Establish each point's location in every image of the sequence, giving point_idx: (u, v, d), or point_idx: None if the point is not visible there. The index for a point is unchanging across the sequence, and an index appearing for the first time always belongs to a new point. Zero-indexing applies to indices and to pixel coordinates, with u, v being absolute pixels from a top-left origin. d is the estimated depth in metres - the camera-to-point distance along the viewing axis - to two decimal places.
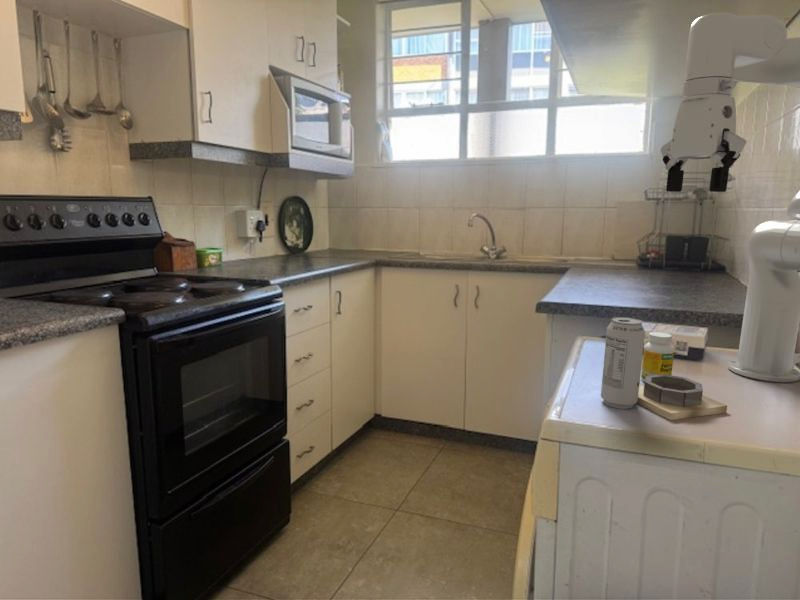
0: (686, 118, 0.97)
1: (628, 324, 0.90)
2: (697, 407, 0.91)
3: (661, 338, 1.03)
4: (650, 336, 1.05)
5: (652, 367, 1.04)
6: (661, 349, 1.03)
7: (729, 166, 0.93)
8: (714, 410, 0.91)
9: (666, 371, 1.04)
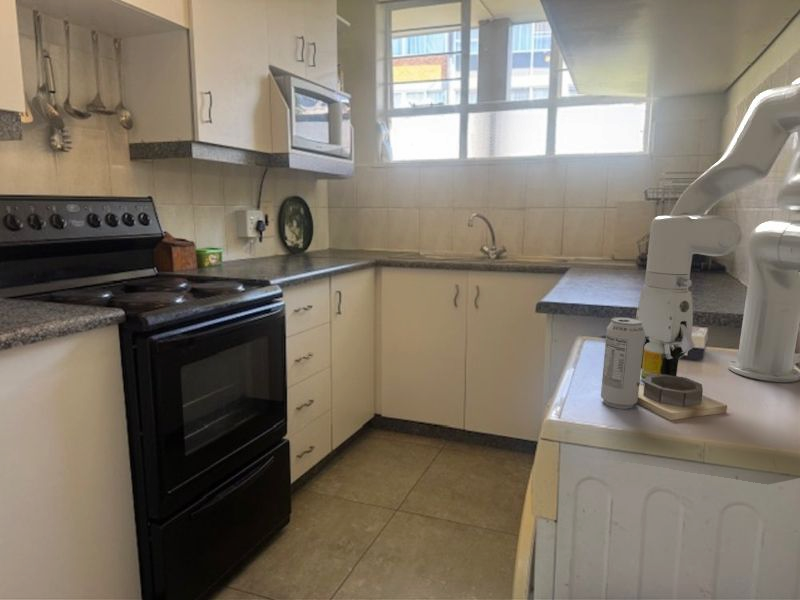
0: (648, 303, 1.04)
1: (628, 324, 0.90)
2: (697, 407, 0.91)
3: None
4: None
5: (652, 366, 1.04)
6: (661, 349, 1.03)
7: (677, 358, 1.02)
8: (714, 410, 0.91)
9: None
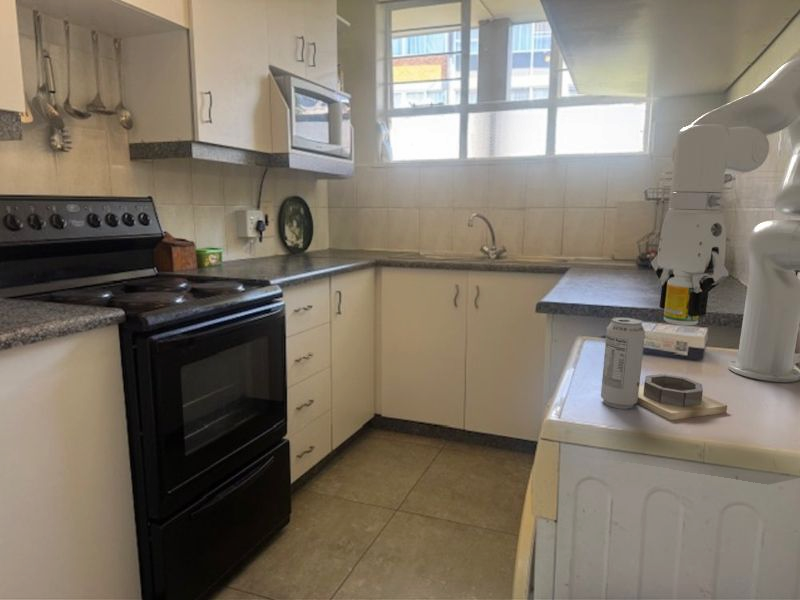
0: (673, 229, 0.91)
1: (628, 324, 0.90)
2: (697, 407, 0.91)
3: None
4: (675, 268, 0.91)
5: (677, 303, 0.90)
6: (687, 282, 0.89)
7: (707, 292, 0.88)
8: (714, 410, 0.91)
9: None
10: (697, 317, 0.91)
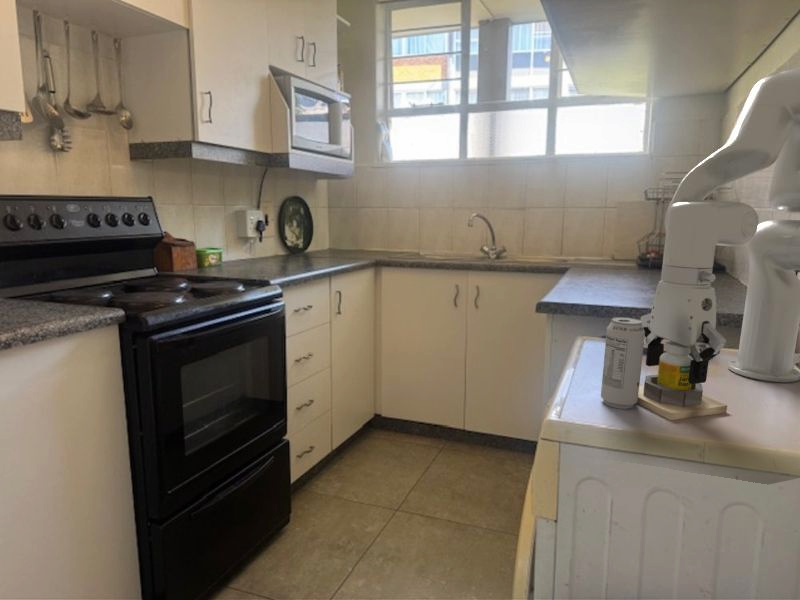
0: (665, 300, 0.93)
1: (628, 324, 0.90)
2: (697, 407, 0.91)
3: (679, 348, 0.92)
4: (666, 346, 0.94)
5: (669, 380, 0.93)
6: (679, 361, 0.92)
7: (708, 360, 0.89)
8: (714, 410, 0.91)
9: (685, 385, 0.93)
10: None
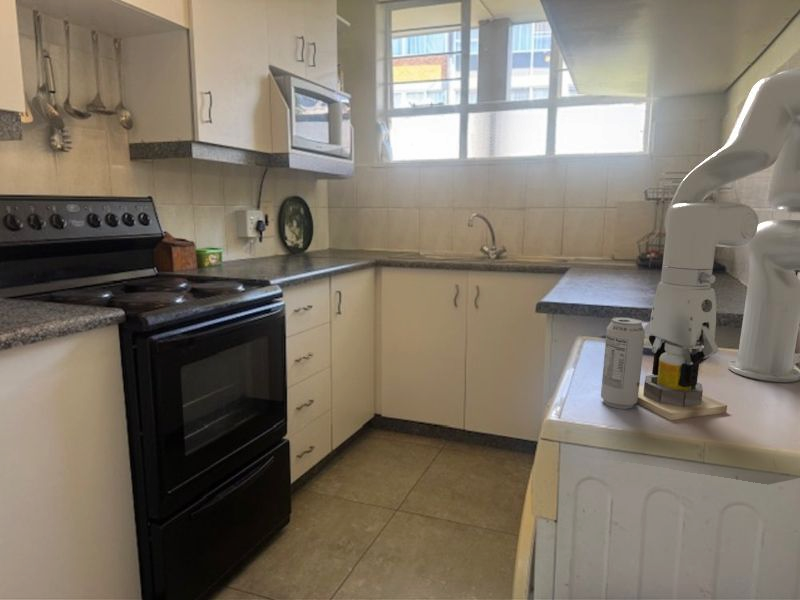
0: (665, 301, 0.93)
1: (628, 324, 0.90)
2: (697, 407, 0.91)
3: (679, 348, 0.92)
4: (666, 346, 0.94)
5: (668, 380, 0.93)
6: (678, 361, 0.92)
7: (698, 364, 0.91)
8: (714, 410, 0.91)
9: None
10: None
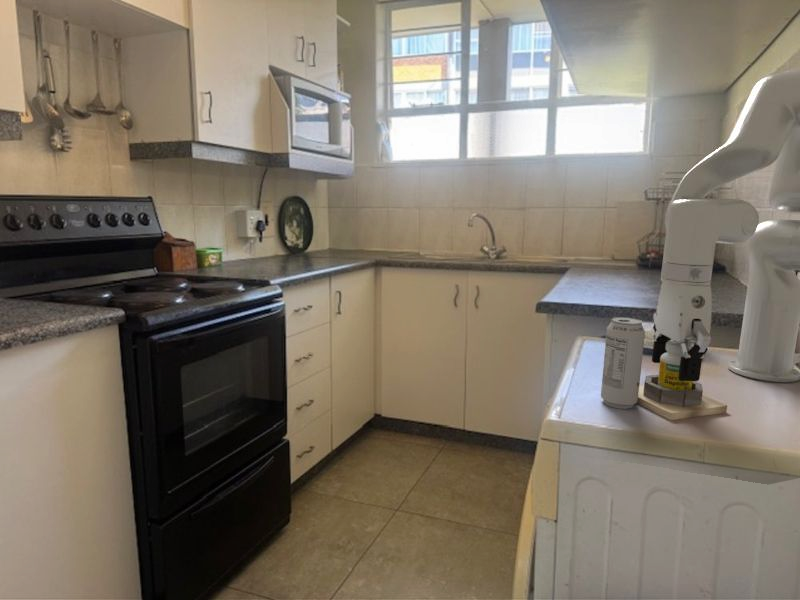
0: (664, 297, 0.94)
1: (628, 324, 0.90)
2: (697, 407, 0.91)
3: (669, 346, 0.93)
4: None
5: (659, 376, 0.95)
6: (666, 358, 0.93)
7: (699, 358, 0.88)
8: (714, 410, 0.91)
9: (671, 384, 0.93)
10: None
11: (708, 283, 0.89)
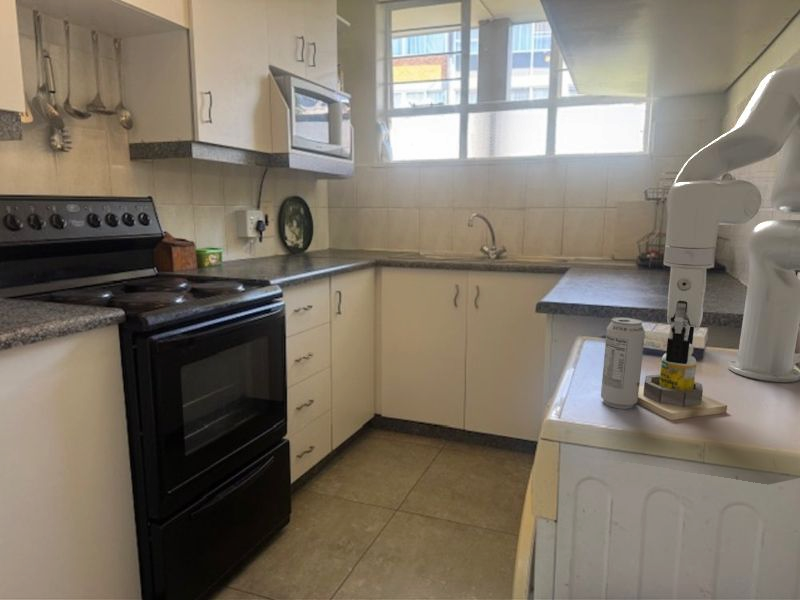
0: None
1: (628, 324, 0.90)
2: (697, 407, 0.91)
3: None
4: None
5: None
6: (663, 355, 0.95)
7: (682, 340, 0.88)
8: (714, 410, 0.91)
9: (661, 380, 0.95)
10: None
11: (702, 266, 0.88)
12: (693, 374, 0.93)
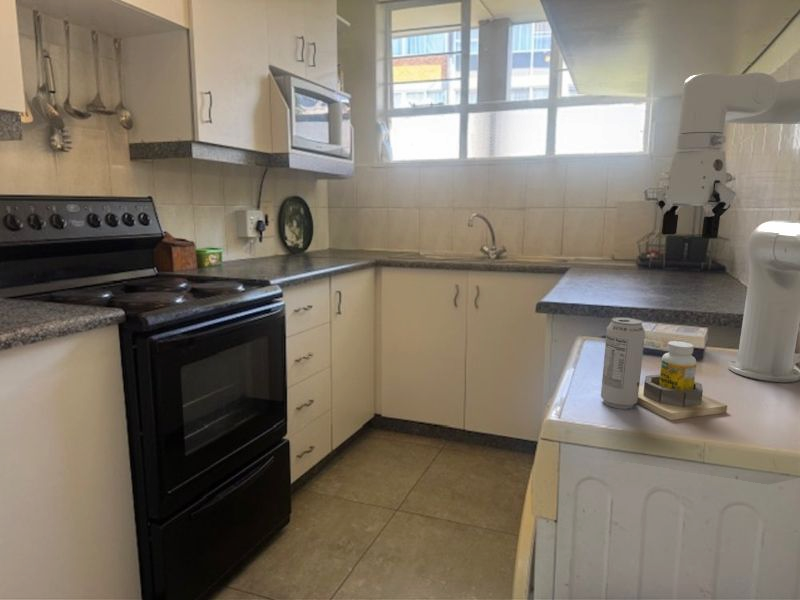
0: (680, 168, 1.03)
1: (628, 324, 0.90)
2: (697, 407, 0.91)
3: None
4: None
5: None
6: (663, 355, 0.95)
7: (720, 215, 0.99)
8: (714, 410, 0.91)
9: (661, 380, 0.95)
10: None
11: None
12: (693, 374, 0.93)
